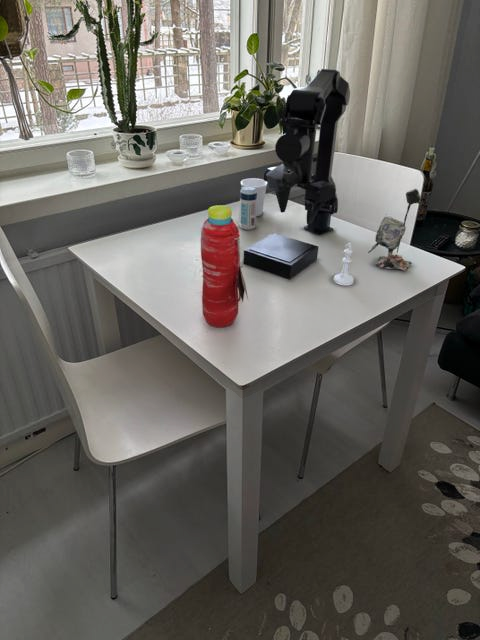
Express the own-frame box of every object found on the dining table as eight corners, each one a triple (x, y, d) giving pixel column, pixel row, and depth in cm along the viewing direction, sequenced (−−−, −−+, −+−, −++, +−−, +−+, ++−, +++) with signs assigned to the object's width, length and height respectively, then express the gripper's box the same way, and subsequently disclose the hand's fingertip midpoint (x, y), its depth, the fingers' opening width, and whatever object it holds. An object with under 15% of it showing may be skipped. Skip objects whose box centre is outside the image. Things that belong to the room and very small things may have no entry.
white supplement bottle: (256, 224, 148) (257, 185, 142) (254, 230, 144) (256, 191, 138) (240, 223, 149) (241, 185, 142) (238, 230, 145) (239, 190, 138)
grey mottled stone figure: (376, 252, 133) (390, 180, 122) (415, 265, 127) (434, 190, 116) (362, 262, 128) (375, 187, 117) (402, 276, 122) (420, 198, 111)
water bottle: (259, 325, 102) (265, 211, 89) (235, 342, 97) (237, 223, 84) (216, 305, 109) (215, 196, 95) (191, 320, 103) (187, 207, 90)
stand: (272, 246, 136) (273, 232, 133) (317, 260, 129) (318, 245, 127) (243, 264, 126) (243, 249, 124) (289, 280, 119) (291, 264, 117)
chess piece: (341, 287, 117) (347, 249, 111) (329, 278, 121) (334, 240, 115) (357, 283, 119) (364, 245, 113) (345, 274, 122) (351, 237, 117)
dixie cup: (234, 213, 156) (235, 182, 151) (251, 206, 161) (252, 176, 156) (255, 220, 152) (256, 188, 146) (271, 212, 157) (273, 182, 152)
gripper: (247, 147, 111) (245, 213, 120) (304, 167, 99) (297, 238, 108) (283, 141, 117) (279, 204, 126) (341, 159, 105) (332, 227, 113)
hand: (295, 217), depth 118 cm, fingers open, 9 cm apart
